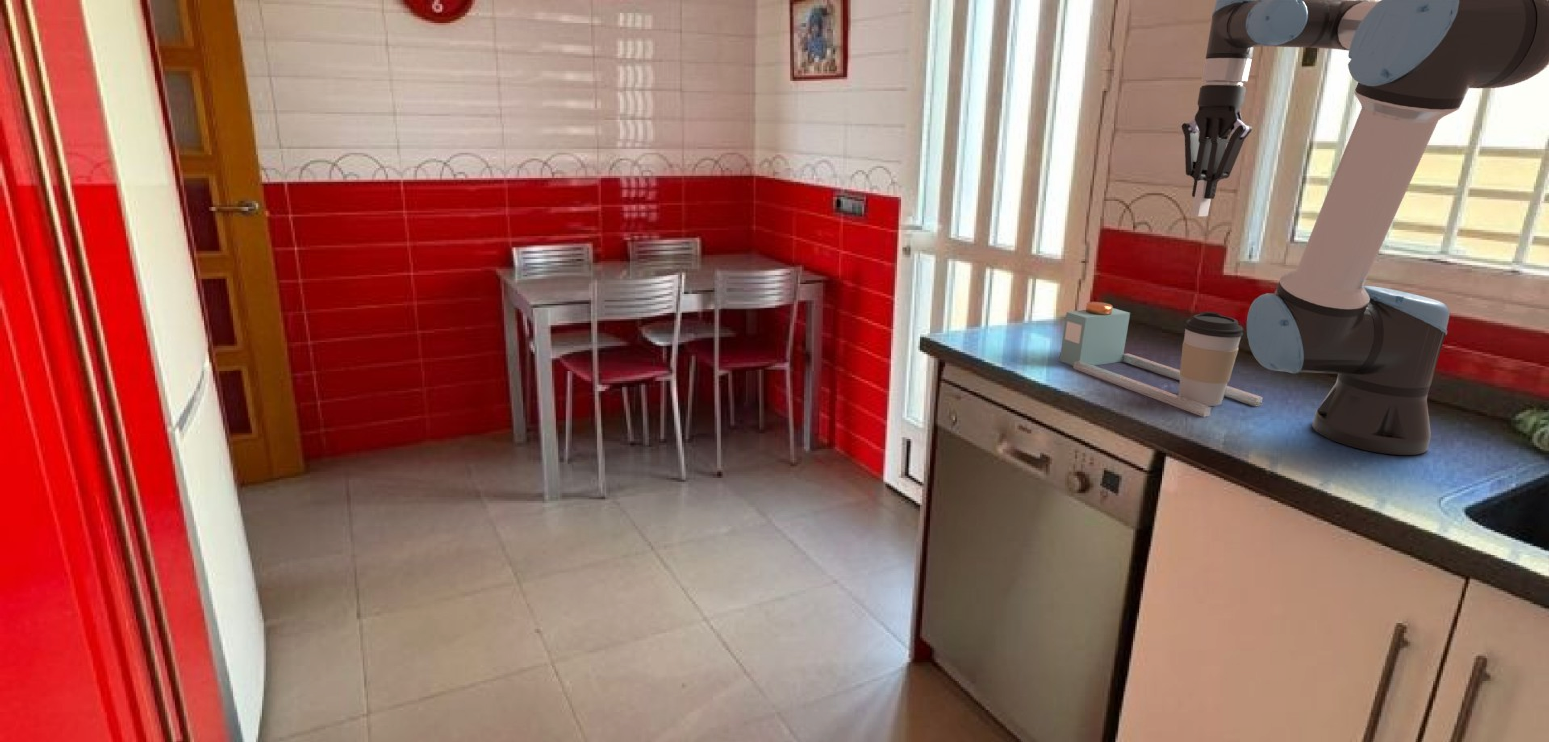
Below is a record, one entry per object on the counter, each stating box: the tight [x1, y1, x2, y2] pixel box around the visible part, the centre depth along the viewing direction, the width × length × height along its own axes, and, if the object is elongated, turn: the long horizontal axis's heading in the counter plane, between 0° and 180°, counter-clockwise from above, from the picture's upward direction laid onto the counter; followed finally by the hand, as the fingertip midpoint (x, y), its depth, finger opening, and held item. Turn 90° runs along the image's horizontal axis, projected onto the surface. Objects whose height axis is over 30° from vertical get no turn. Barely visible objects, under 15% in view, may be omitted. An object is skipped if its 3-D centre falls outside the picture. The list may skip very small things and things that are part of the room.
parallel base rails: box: [1072, 352, 1264, 418], centre depth 154 cm, size 28×15×2 cm, turn 27°
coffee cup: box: [1177, 311, 1244, 407], centre depth 145 cm, size 9×9×15 cm
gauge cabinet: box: [1059, 307, 1131, 366], centre depth 167 cm, size 5×12×10 cm, turn 117°
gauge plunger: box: [1085, 301, 1114, 315], centre depth 166 cm, size 5×5×6 cm
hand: (1199, 215), depth 159 cm, fingers closed
